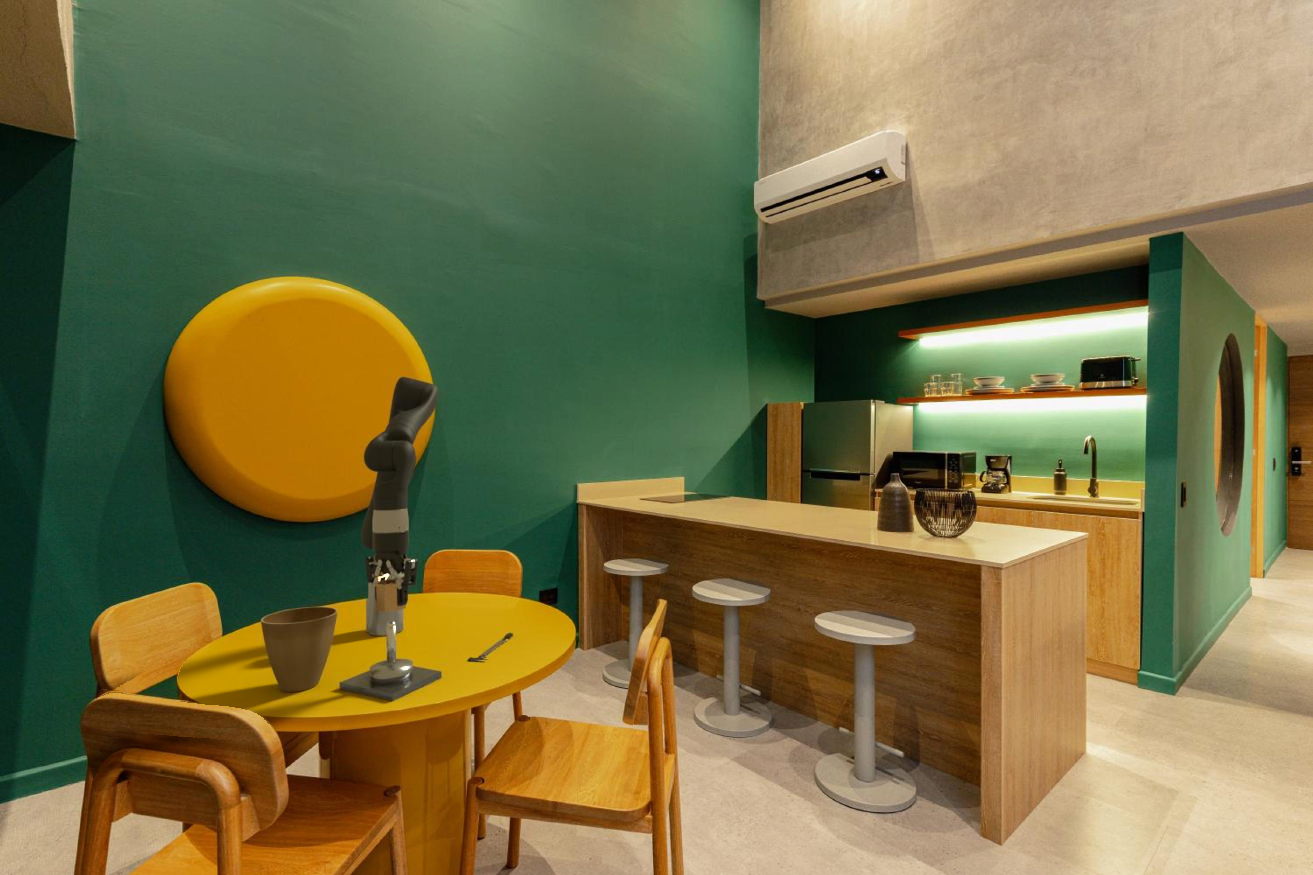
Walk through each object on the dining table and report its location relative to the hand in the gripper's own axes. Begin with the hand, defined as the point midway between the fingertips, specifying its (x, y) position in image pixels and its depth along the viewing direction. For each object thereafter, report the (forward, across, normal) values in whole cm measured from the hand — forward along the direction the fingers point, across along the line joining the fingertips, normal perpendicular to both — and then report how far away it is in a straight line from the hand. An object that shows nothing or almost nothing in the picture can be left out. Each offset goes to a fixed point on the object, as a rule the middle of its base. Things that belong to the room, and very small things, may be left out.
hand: (391, 603), depth 140 cm
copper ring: (+1, 0, 0) cm, 1 cm away
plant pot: (+18, -18, -9) cm, 27 cm away
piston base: (+18, 0, 0) cm, 18 cm away
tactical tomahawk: (+19, +7, +29) cm, 35 cm away
